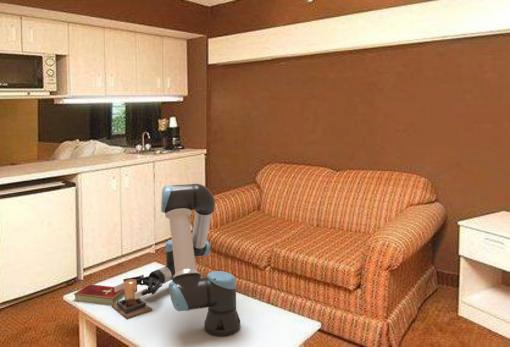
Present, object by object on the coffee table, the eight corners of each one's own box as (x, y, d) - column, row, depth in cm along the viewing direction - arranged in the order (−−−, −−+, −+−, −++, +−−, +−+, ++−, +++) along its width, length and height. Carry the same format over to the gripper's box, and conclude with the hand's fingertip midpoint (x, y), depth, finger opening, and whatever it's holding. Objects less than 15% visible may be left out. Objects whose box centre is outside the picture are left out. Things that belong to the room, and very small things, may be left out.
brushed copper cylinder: (140, 306, 195) (138, 281, 193) (128, 310, 191) (127, 285, 189) (134, 302, 199) (133, 278, 197) (123, 306, 195) (122, 281, 193)
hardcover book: (89, 291, 215) (88, 283, 214) (126, 295, 210) (126, 287, 209) (74, 301, 203) (73, 293, 202) (113, 306, 198) (112, 297, 198)
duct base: (151, 310, 193) (151, 304, 192) (126, 319, 185) (126, 312, 185) (135, 298, 205) (135, 292, 204) (111, 306, 197) (111, 300, 197)
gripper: (178, 290, 202) (144, 307, 185) (142, 278, 216) (107, 293, 198) (178, 275, 201) (143, 291, 183) (142, 264, 215) (106, 278, 197)
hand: (124, 292), depth 191 cm, fingers open, 13 cm apart
